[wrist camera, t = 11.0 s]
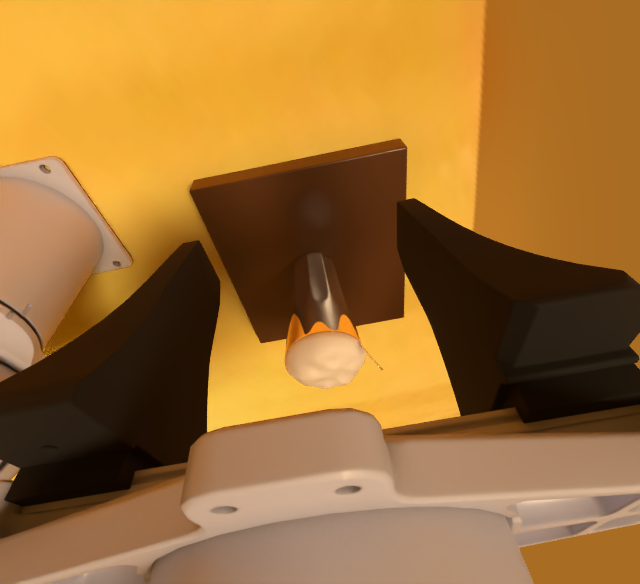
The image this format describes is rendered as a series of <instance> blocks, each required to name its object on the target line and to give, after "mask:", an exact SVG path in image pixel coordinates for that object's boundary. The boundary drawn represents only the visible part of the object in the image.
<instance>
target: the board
mask: <svg viewBox="0 0 640 584" xmlns="http://www.w3.org/2000/svg"><path fill="white" fill-rule="evenodd" d="M406 181H407V147H406V145H405V144H404V143H403V142H402V140H401V139H396V140H391V141H386V142H381V143H376V144H371V145H366V146H361V147H356V148H351V149H347V150H342V151H337V152H332V153H327V154H322V155H317V156H312V157H307V158H302V159H297V160H292V161H288V162H283V163H278V164H273V165H268V166H263V167H258V168H253V169H248V170H243V171H238V172H233V173H229V174H224V175H219V176H214V177H209V178H204V179H199V180H194V182H193V184H192V187H191V189H190V193H191V195H192V198H193V200H194V202H195V204H196V206H197V208H198V210H199V212H200V215H201V217H202V219H203V221H204V223H205V225H206V227H207V229H208V232H209V234H210V236H211V238H212V240H213V242H214V244H215V247H216V249H217V251H218V253H219V255H220V257H221V259H222V261H223V264H224V266H225V268H226V270H227V272H228V274H229V276H230V278H231V281H232V283H233V285H234V287H235V289H236V291H237V293H238V296H239V298H240V300H241V302H242V304H243V306H244V308H245V310H246V313H247V315H248V317H249V319H250V321H251V323H252V325H253V327H254V330H255V332H256V334H257V336H258V338H259V340H260V342H261V343H265V342H271V341H276V340H282V339H287V330H288V316H289V298H290V280H291V270H292V268H293V265H294V263H295V260H297V259H299V258H300V257H302V256H303V255H305V254H307V253H322V254H324V255H325V256H327V257H329V258H331V259H332V261H333V264H334V267H335V269H336V272H337V276H338V279H339V282H340V285H341V288H342V291H343V294H344V297H345V301H346V304H347V306H348V309H349V311H350V313H351V316H352V318H353V321H354V324H355V326H359V325H364V324H370V323H376V322H381V321H387V320H392V319H398V318H403V317H404V284H405V271H404V268H403V265H402V263H401V260H400V256H399V253H398V250H397V201H403V200H406Z"/></svg>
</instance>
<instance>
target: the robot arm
mask: <svg viewBox="0 0 640 584" xmlns="http://www.w3.org/2000/svg"><path fill="white" fill-rule="evenodd" d="M43 165H46V166H47V167H49V168H50V171H48V170H46V169H45V168H44V166H43ZM397 250H398V253H399V256H400V260H401V263H402V265H403V268H404V271H405V273H406V275H407V277H408V279H409V281H410V283H411V285H412V287H413V289H414V291H415V293H416V295H417V297H418V299H419V301H420V303H421V305H422V307H423V309H424V311H425V313H426V315H427V317H428V320H429V322H430V324H431V327H432V329H433V332H434V335H435V338H436V340H437V343H438V346H439V349H440V352H441V354H442V357H443V360H444V363H445V366H446V369H447V372H448V375H449V378H450V382H451V385H452V388H453V391H454V394H455V397H456V401H457V404H458V407H459V411H460V414H461V416H460V417H454V418H448V419H442V420H436V421H430V422H424V423H418V424H412V425H406V426H400V427H394V428H388V429H383V430H382V428H381V425H380V423H379V422H378V421H377V419H376V418H375V417H374V416H373V415H372V414H370V413H367V412H364V411H360V410H356V409H353V408H345V409H327V410H322V411H316V412H310V413H304V414H298V415H292V416H287V417H281V418H275V419H269V420H263V421H258V422H252V423H246V424H240V425H234V426H228V427H223V428H220V429H217V430H214V431H211V432H208V433H207V397H208V377H209V363H210V356H211V350H212V345H213V339H214V334H215V329H216V323H217V318H218V312H219V306H220V280H219V278H218V276H217V274H216V272H215V270H214V268H213V266H212V264H211V262H210V260H209V258H208V256H207V254H206V252H205V250H204V248H203V246H202V244H201V243H200V241H199V240H198V241H193V242H188V243H183V244H182V245H181V246H180V247H179V248H178V249H177V250H176V251H175V252H174V253H173V254H172V255H171V256H170V257H169V258H168V259H167V260H166V261H165V262H164V263H163V264H162V265H161V266H160V267H159V268H158V269H157V271H156V272H155V273H154V274H153V275H152V276H151V277H150V278H149V279H148V280H147V281H146V282H145V283H144V284H143V285H142V286H141V287H140V288H139V289H138V290H137V291H136V292H135V293H133V294H132V295H131V296H130V297H129V298H128V299H127V300H126V301H125V302H124V303H123V304H121V305H120V306H119V307H118V308H117V309H116V310H114V311H113V312H112V313H111V314H109V315H108V316H107V317H106V318H104V319H103V320H102V321H100V322H99V323H98V324H96V325H95V326H93V327H92V328H91V329H89V330H88V331H86V332H85V333H83V334H82V335H81V336H79V337H78V338H76V339H75V340H73V341H72V342H70V343H69V344H67V345H66V346H64V347H62V348H61V349H59V350H58V351H56V352H54V353H52V354H51V355H49V356H47V357H45V356H44V355H43V353H42V352H43V350H44V349H45V347H46V345H47V344H48V342H49V341H50V339H51V337H52V336H53V334H54V332H55V331H56V329H57V328H58V326H59V324H60V323H61V321H62V320H63V318H64V316H65V315H66V313H67V312H68V310H69V308H70V307H71V305H72V303H73V302H74V300H75V299H76V297H77V295H78V294H79V292H80V291H81V289H82V287H83V286H84V284H85V282H86V281H87V279H88V278H89V276H90V275H91V274H96V273H101V272H106V271H112V270H117V269H122V268H127V267H130V266H131V264H132V261H133V260H132V258H131V257H130V255H129V254H128V252H127V251H126V250H125V248H124V247H123V245H122V244H121V242H120V241H119V240H118V238H117V237H116V235H115V234H114V233H113V231H112V230H111V228H110V227H109V225H108V224H107V223H106V221H105V220H104V218H103V217H102V216H101V214H100V213H99V211H98V210H97V209H96V207H95V206H94V204H93V203H92V201H91V200H90V199H89V197H88V196H87V194H86V193H85V192H84V190H83V189H82V187H81V186H80V184H79V183H78V182H77V180H76V179H75V177H74V176H73V175H72V173H71V172H70V170H69V169H68V167H67V166H66V165H65V163H64V162H63V161H62V160H60V159H59V158H57V157H54V156H50V157H45V158H41V159H36V160H31V161H26V162H21V163H17V164H12V165H7V166H2V167H0V584H534V583H533V581H532V578H531V576H530V573H529V571H528V569H527V566H526V564H525V562H524V559H523V557H522V555H521V553H520V550H519V547H523V546H529V545H534V544H539V543H544V542H549V541H554V540H559V539H564V538H569V537H574V536H579V535H584V534H589V533H594V532H600V531H605V530H610V529H615V528H619V527H625V526H630V525H635V524H640V369H639V368H637V366H636V365H635V364H634V363H636V362H638V360H639V356H638V355H637V354H636V353H635V352H634V351H633V350H632V349H631V347H630V346H629V345H630V344H631V343H632V341H633V340H634V339H635V337H636V336H637V335H638V334H639V333H640V284H639V283H637V282H636V281H635V280H634V279H633V278H631V277H630V276H629V275H628V274H627V273H625V272H624V271H622V270H616V269H608V268H602V267H595V266H589V265H582V264H576V263H572V262H566V261H562V260H557V259H552V258H549V257H544V256H540V255H537V254H533V253H529V252H526V251H523V250H519V249H516V248H513V247H510V246H507V245H504V244H502V243H499V242H497V241H494V240H491V239H489V238H486V237H484V236H482V235H479V234H477V233H475V232H473V231H471V230H469V229H467V228H465V227H463V226H461V225H459V224H457V223H455V222H454V221H452V220H450V219H448V218H446V217H445V216H443V215H441V214H440V213H438V212H436V211H435V210H433V209H431V208H430V207H428V206H427V205H425V204H423V203H422V202H420V201H418V200H416V199H414V198H413V199H408V200H403V201H397ZM115 261H118V262H120V263H117V262H115ZM17 473H18V474H17ZM16 474H17V476H16V478H15V480H14V481H13V480H11V479H12V478H13V477H14V476H15V475H16Z"/></svg>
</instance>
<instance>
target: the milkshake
mask: <svg viewBox="0 0 640 584" xmlns="http://www.w3.org/2000/svg"><path fill="white" fill-rule="evenodd" d="M365 352H366V353H367V354H368V355H369V357H370V358H371V359H372V360H373V361H374V362H375V363H376V364H377V366H378V367H379V368H380V369H382V368H381V367H380V366H379V365H378V363H377V362H376V361H375V360H374V359H373V358H372V357H371V356H370V354H369V353H368V352H367V351H366V350H365V349H364V348H363V345H362V342H361V340H360V337H359V334H358V332H357V329H356V326H355V324H354V321H353V318H352V316H351V313H350V311H349V309H348V306H347V304H346V301H345V297H344V294H343V291H342V288H341V285H340V282H339V279H338V276H337V272H336V269H335V267H334V264H333V261H332V259H331V258H329V257H327V256H325V255H324V254H322V253H307V254H305V255H303V256H302V257H300V258H299V259H297V260H295V263H294V265H293V268H292V270H291V280H290V298H289V316H288V330H287V341H286V351H285V366H286V369H287V371H288V373H289V374H290V375H291V376H292V377H293V378H295V379H296V380H298V381H299V382H300V383H302V384H303V385H306V386H314V387H318V388H322V389H328V388H331V387H335V386H342V385H346V384H348V383H349V382H350V381H351V380H352V379H353V378H354V377H355V376H356V374H357V373H358V371H359V369H360V368H361V367H362V365H363V363H364V361H365ZM382 370H383V369H382Z"/></svg>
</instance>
